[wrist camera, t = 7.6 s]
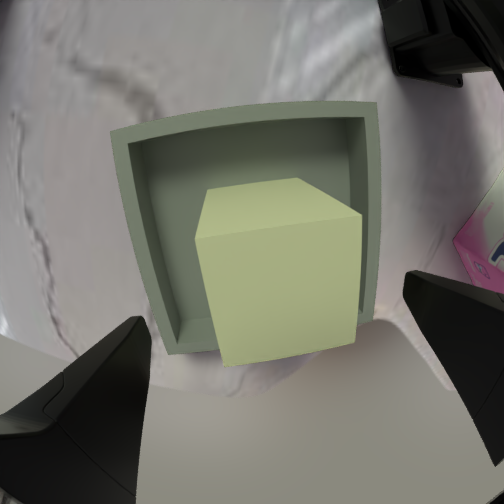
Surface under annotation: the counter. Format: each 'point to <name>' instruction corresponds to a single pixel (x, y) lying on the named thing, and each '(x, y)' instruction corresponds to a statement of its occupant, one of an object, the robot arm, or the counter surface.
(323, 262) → the block
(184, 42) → the counter surface
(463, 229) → the gum box
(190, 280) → the bin
